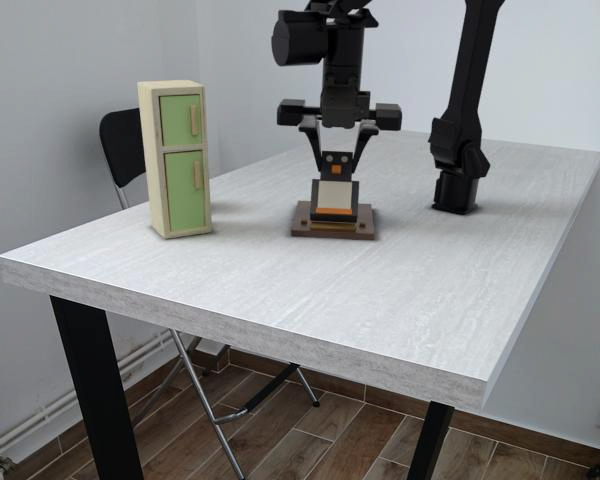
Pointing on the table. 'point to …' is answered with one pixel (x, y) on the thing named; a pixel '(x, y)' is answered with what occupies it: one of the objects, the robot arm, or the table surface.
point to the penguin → (335, 190)
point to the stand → (333, 224)
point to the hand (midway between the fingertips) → (336, 172)
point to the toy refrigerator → (176, 156)
